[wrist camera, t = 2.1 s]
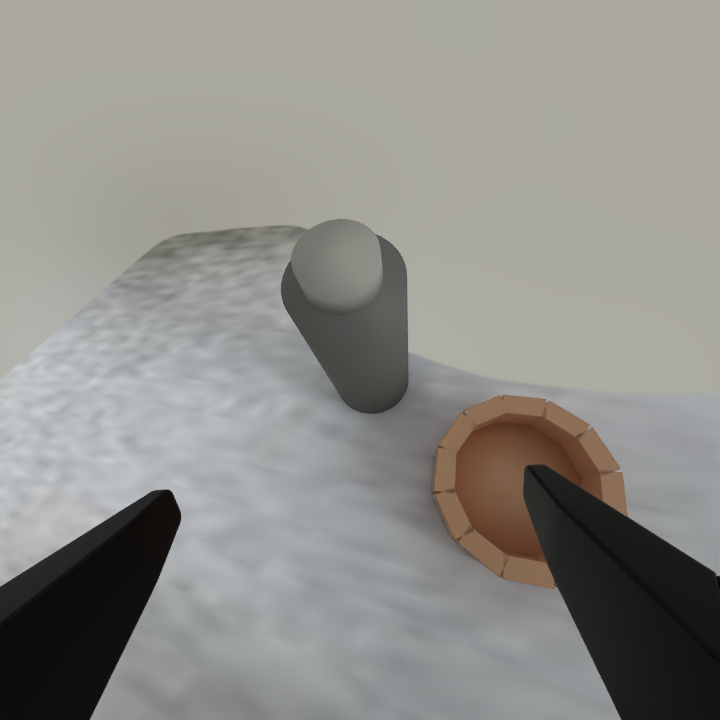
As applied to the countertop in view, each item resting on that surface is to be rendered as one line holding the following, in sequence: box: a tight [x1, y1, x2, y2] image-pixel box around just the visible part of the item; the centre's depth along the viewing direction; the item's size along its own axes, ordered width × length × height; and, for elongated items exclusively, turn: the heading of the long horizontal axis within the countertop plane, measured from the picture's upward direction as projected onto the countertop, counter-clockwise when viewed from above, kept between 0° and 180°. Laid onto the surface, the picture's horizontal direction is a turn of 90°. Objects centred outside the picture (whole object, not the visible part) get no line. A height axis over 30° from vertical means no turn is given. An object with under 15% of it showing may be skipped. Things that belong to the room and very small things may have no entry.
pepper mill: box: [281, 219, 408, 413], centre depth 18 cm, size 5×5×13 cm
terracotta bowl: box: [431, 395, 628, 589], centre depth 19 cm, size 9×9×3 cm
